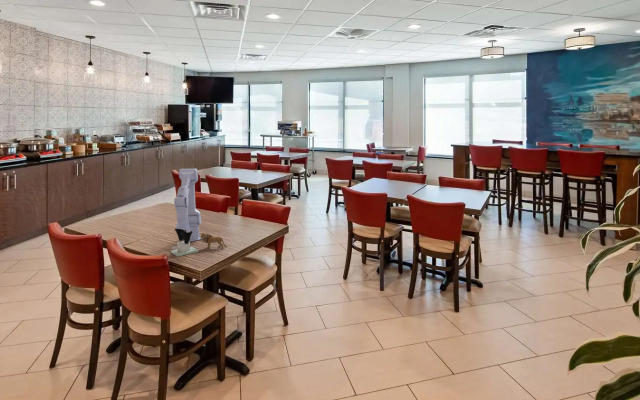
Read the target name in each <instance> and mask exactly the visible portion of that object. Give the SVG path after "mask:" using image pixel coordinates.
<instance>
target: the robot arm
mask: <svg viewBox="0 0 640 400" xmlns="http://www.w3.org/2000/svg"><path fill="white" fill-rule="evenodd" d="M198 173H199V171H198V169H197V168H180V169H179V171H178V178H179V179H180V180H181V184H180V185H181V186H179V188H178V189H177V195H176V197H175V198H174V207H175V211H176V223H175V225H176V226H175V228H174V231H175V233H176V235H177V237H178V240H179V241H178V242H181V241H184V243H185V244H189V241H190V242H194V241H200V240H201V236H200V225H201V224H202V215H201V212H200V211H199V210H198V209H197V208H196V207H197V206H196V188H195V187H196V186H195V185H196V183H197V182H198V181H199V174H198ZM201 241H202V240H201Z"/></svg>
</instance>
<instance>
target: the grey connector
mask: <svg viewBox="0 0 640 400" xmlns="http://www.w3.org/2000/svg"><path fill="white" fill-rule="evenodd" d="M190 247H191V243H190V241H189V244H185V243H184V240H183V241H177V242H176V246H172V247H171V249H172V250H177V252H184V251H189V250H190Z"/></svg>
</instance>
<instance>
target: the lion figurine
mask: <svg viewBox="0 0 640 400" xmlns="http://www.w3.org/2000/svg"><path fill="white" fill-rule="evenodd" d="M200 238H201V241H203V243H206V244H207V249H210V248H211V244H216V243H218V246H217V247H218V248H220V249H222V250H223V249H224V247H225V248H227V247H228V246H227V245H226V244H225V242H224V239H223V238H222V237H221V236H219V235H218V236H213V235H211V234H209V233H206V232H202V233H200Z"/></svg>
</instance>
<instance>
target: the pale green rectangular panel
mask: <svg viewBox="0 0 640 400" xmlns="http://www.w3.org/2000/svg"><path fill="white" fill-rule="evenodd" d="M199 252H200V251H199V249H197V248H195V247H193V246H192V245H190V250H189V251H184V252H177V249H175V250H173V249H172V250H170V253H171V254H173V255H174V256H176V257H177V258H178V257H181V256H187V255H190V254H195V253H199Z"/></svg>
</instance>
